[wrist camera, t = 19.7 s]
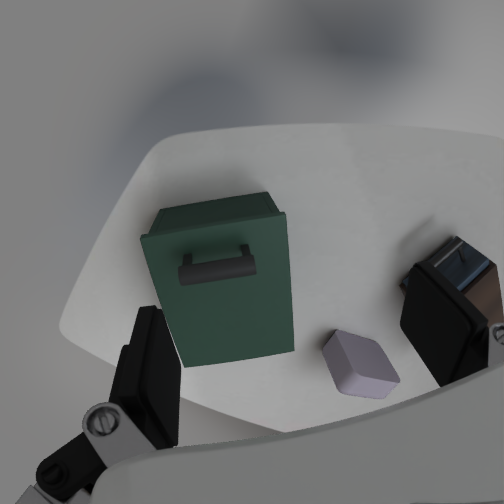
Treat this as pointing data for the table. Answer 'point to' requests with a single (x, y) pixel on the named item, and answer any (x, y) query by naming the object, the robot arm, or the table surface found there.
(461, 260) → the drawer
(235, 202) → the chest
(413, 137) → the table surface
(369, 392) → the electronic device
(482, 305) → the cabinet
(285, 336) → the chest lid
